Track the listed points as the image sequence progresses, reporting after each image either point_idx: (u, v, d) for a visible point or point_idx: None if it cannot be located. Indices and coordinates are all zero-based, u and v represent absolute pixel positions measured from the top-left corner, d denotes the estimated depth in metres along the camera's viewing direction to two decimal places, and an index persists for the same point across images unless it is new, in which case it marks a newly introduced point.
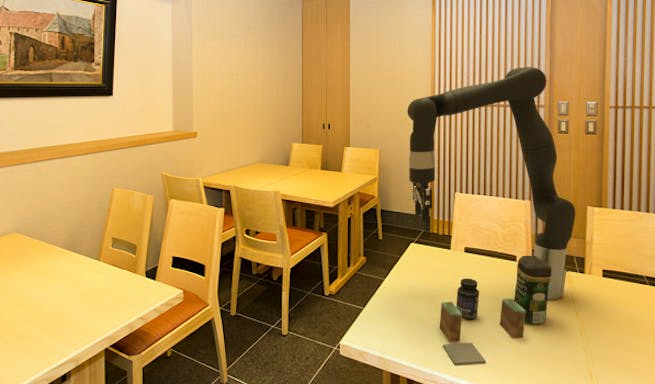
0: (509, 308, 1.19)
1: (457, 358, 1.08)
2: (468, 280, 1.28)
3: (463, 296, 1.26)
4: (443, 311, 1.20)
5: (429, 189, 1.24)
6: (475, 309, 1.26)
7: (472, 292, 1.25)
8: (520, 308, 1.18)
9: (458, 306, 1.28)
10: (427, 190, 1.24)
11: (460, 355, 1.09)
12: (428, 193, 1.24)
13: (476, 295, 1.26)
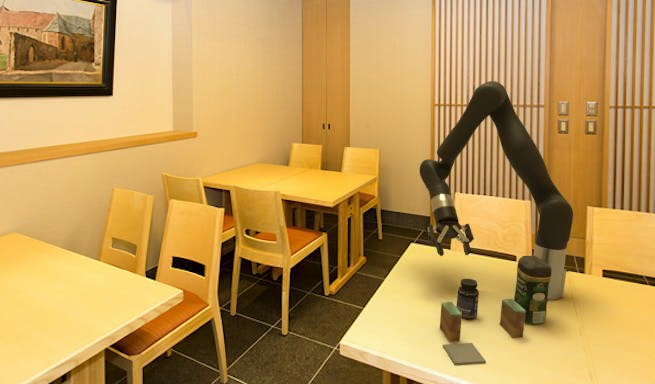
0: (509, 308, 1.19)
1: (457, 358, 1.08)
2: (468, 280, 1.28)
3: (463, 296, 1.26)
4: (443, 311, 1.20)
5: (429, 226, 1.41)
6: (475, 309, 1.26)
7: (472, 292, 1.25)
8: (520, 308, 1.18)
9: (458, 306, 1.28)
10: (428, 227, 1.42)
11: (460, 355, 1.09)
12: (428, 229, 1.41)
13: (476, 295, 1.26)
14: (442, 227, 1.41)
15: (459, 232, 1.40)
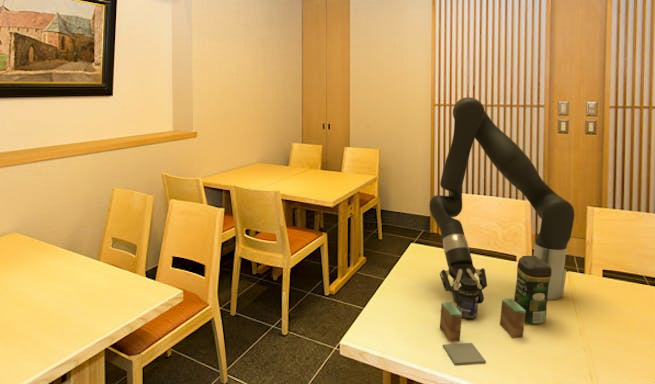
0: (509, 308, 1.19)
1: (457, 358, 1.08)
2: (468, 280, 1.28)
3: (463, 296, 1.26)
4: (443, 311, 1.20)
5: (441, 271, 1.31)
6: (475, 309, 1.26)
7: (472, 292, 1.25)
8: (520, 308, 1.18)
9: (458, 306, 1.28)
10: (440, 273, 1.31)
11: (460, 355, 1.09)
12: (441, 275, 1.31)
13: (476, 295, 1.25)
14: (455, 271, 1.31)
15: (473, 277, 1.30)
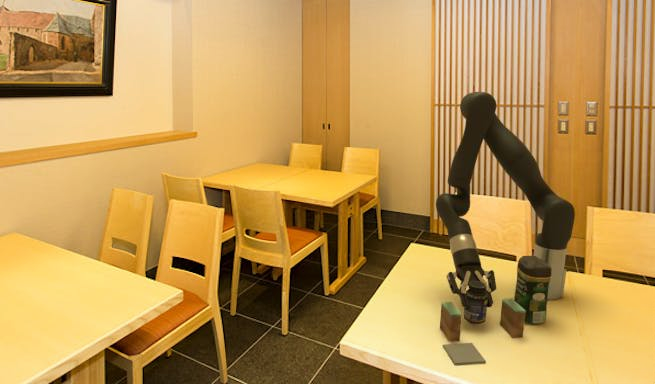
0: (509, 308, 1.19)
1: (457, 358, 1.08)
2: (476, 283, 1.22)
3: (471, 299, 1.20)
4: (443, 311, 1.20)
5: (448, 273, 1.25)
6: (484, 313, 1.21)
7: (481, 295, 1.20)
8: (520, 308, 1.18)
9: (466, 310, 1.22)
10: (447, 275, 1.26)
11: (460, 355, 1.09)
12: (448, 277, 1.25)
13: (485, 298, 1.20)
14: (463, 273, 1.25)
15: (481, 279, 1.24)
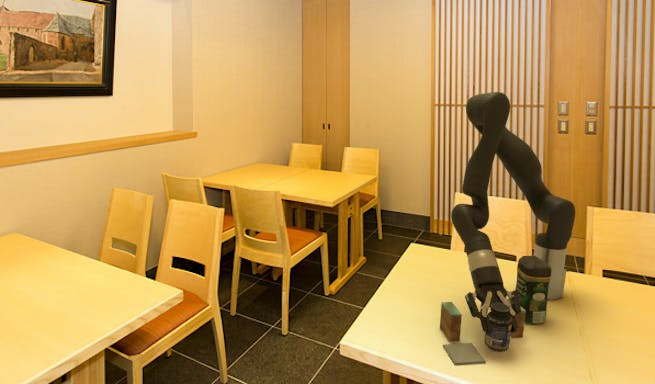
0: None
1: (457, 358, 1.08)
2: (499, 305, 1.10)
3: (494, 324, 1.07)
4: (443, 311, 1.20)
5: (467, 294, 1.13)
6: (508, 339, 1.08)
7: (505, 320, 1.07)
8: None
9: (487, 335, 1.10)
10: (466, 295, 1.13)
11: (460, 355, 1.09)
12: (468, 298, 1.12)
13: (509, 323, 1.07)
14: (484, 294, 1.12)
15: (504, 301, 1.11)
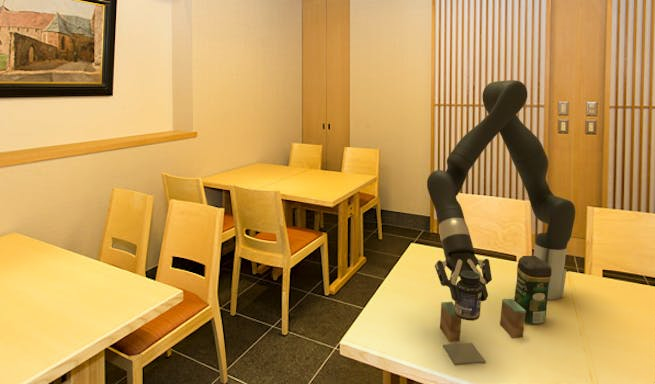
0: (509, 308, 1.19)
1: (457, 358, 1.08)
2: (469, 273, 1.06)
3: (463, 292, 1.04)
4: (443, 311, 1.20)
5: (437, 262, 1.09)
6: (477, 307, 1.05)
7: (474, 287, 1.04)
8: (520, 308, 1.18)
9: (457, 304, 1.06)
10: (436, 264, 1.10)
11: (460, 355, 1.09)
12: (437, 267, 1.09)
13: (479, 291, 1.04)
14: (454, 262, 1.09)
15: (474, 269, 1.08)
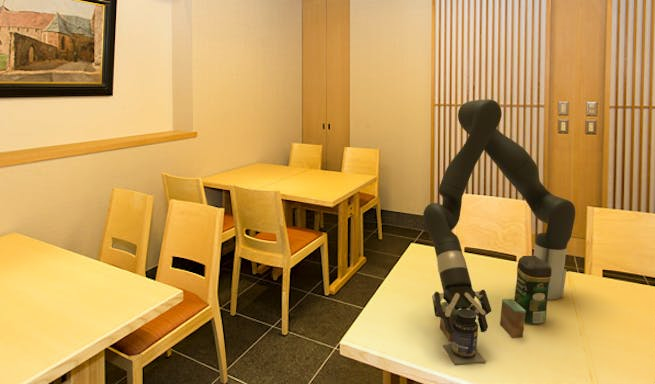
0: (509, 308, 1.19)
1: (457, 358, 1.08)
2: (465, 311, 1.09)
3: (460, 330, 1.07)
4: (443, 311, 1.20)
5: (434, 293, 1.12)
6: (474, 346, 1.07)
7: (471, 326, 1.06)
8: (520, 308, 1.18)
9: (454, 342, 1.09)
10: (433, 295, 1.12)
11: None
12: (434, 298, 1.11)
13: (475, 330, 1.06)
14: (451, 295, 1.11)
15: (473, 302, 1.10)
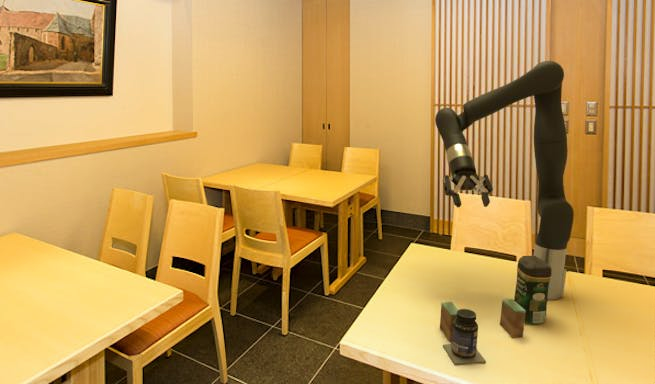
0: (509, 308, 1.19)
1: (457, 358, 1.08)
2: (465, 311, 1.09)
3: (460, 330, 1.07)
4: (443, 311, 1.20)
5: (445, 177, 1.32)
6: (474, 346, 1.07)
7: (471, 326, 1.06)
8: (520, 308, 1.18)
9: (454, 342, 1.09)
10: (444, 178, 1.32)
11: None
12: (444, 180, 1.32)
13: (475, 329, 1.06)
14: (459, 178, 1.32)
15: (477, 182, 1.30)
